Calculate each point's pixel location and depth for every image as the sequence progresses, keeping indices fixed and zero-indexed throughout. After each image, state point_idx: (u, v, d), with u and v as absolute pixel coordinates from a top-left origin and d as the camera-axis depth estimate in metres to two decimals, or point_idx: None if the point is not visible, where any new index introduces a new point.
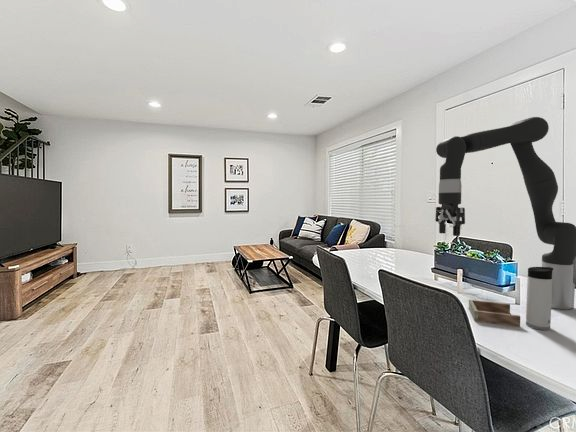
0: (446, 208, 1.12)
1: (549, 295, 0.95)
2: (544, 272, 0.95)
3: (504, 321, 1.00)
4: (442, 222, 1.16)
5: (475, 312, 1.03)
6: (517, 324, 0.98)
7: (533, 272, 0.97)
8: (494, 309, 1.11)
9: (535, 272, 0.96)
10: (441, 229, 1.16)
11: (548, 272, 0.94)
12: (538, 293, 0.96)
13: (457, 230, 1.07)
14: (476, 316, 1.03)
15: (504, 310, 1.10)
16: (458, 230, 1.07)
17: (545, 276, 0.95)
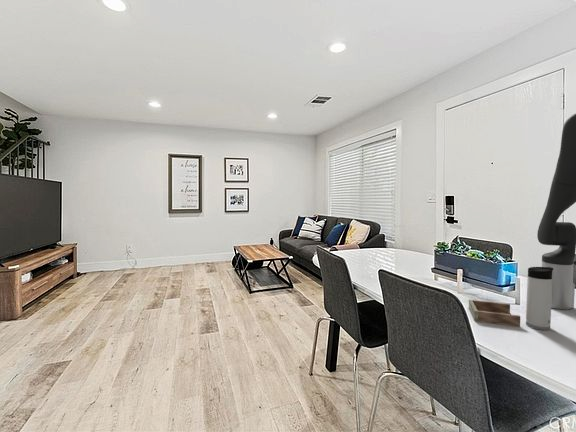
0: None
1: (549, 295, 0.95)
2: (544, 272, 0.95)
3: (504, 321, 1.00)
4: None
5: (475, 312, 1.03)
6: (517, 324, 0.98)
7: (533, 272, 0.97)
8: (494, 309, 1.11)
9: (535, 272, 0.96)
10: None
11: (548, 272, 0.94)
12: (538, 293, 0.96)
13: None
14: (476, 316, 1.03)
15: (504, 310, 1.10)
16: None
17: (545, 276, 0.95)
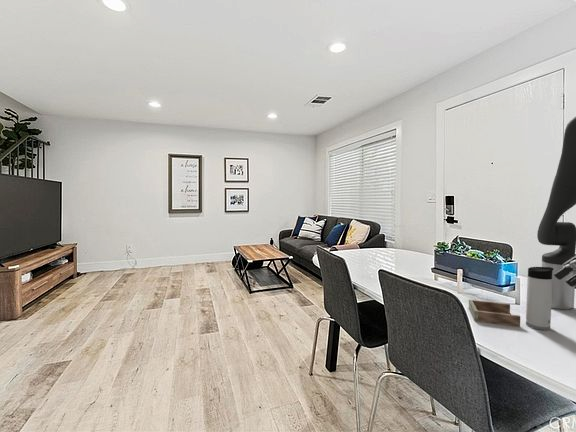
0: None
1: (549, 295, 0.95)
2: (544, 272, 0.95)
3: (504, 321, 1.00)
4: None
5: (475, 312, 1.03)
6: (517, 324, 0.98)
7: (533, 272, 0.97)
8: (494, 309, 1.11)
9: (535, 272, 0.96)
10: None
11: (548, 272, 0.94)
12: (538, 293, 0.96)
13: None
14: (476, 316, 1.03)
15: (504, 310, 1.10)
16: None
17: (545, 276, 0.95)
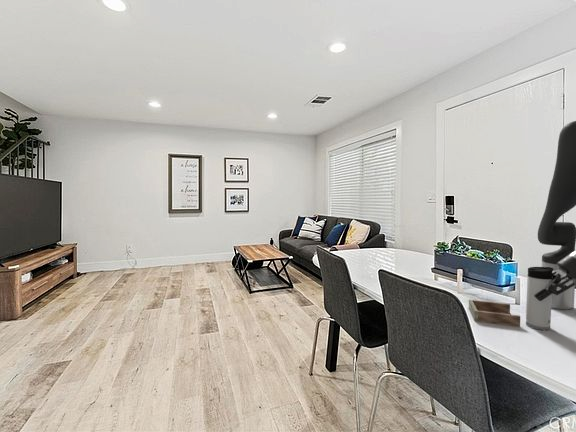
0: None
1: (549, 295, 0.95)
2: (544, 272, 0.95)
3: (504, 321, 1.00)
4: None
5: (475, 312, 1.03)
6: (517, 324, 0.98)
7: (533, 272, 0.97)
8: (494, 309, 1.11)
9: (535, 272, 0.96)
10: None
11: (548, 272, 0.94)
12: None
13: None
14: (476, 316, 1.03)
15: (504, 310, 1.10)
16: None
17: (544, 276, 0.95)
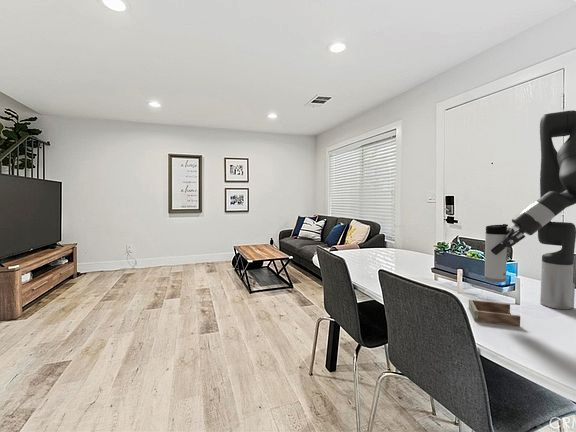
0: None
1: (504, 249, 1.02)
2: (499, 228, 1.02)
3: (504, 321, 1.00)
4: None
5: (475, 312, 1.03)
6: (517, 324, 0.98)
7: (489, 229, 1.04)
8: (494, 309, 1.11)
9: (491, 228, 1.03)
10: None
11: (503, 228, 1.01)
12: None
13: None
14: (476, 316, 1.03)
15: (504, 310, 1.10)
16: None
17: (499, 231, 1.02)
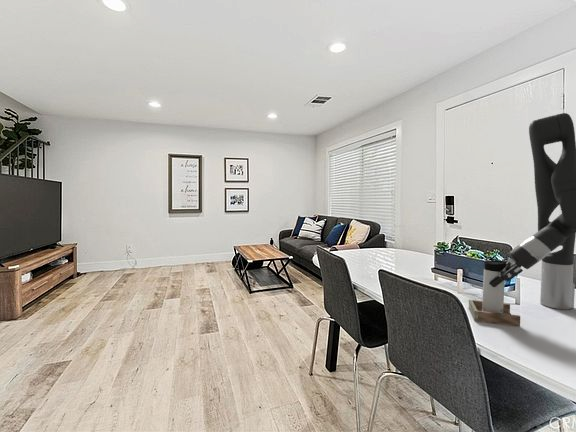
0: None
1: (501, 286, 1.03)
2: (497, 265, 1.03)
3: (504, 321, 1.00)
4: None
5: (475, 312, 1.03)
6: (517, 324, 0.98)
7: (488, 265, 1.05)
8: None
9: (489, 265, 1.04)
10: None
11: (501, 265, 1.03)
12: None
13: None
14: (476, 316, 1.03)
15: (504, 310, 1.10)
16: None
17: (498, 268, 1.03)
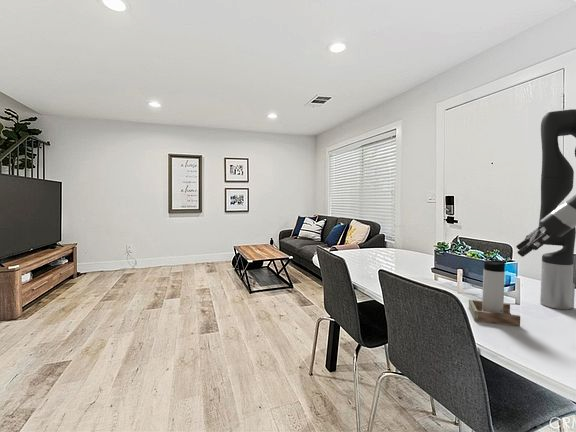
0: None
1: (501, 286, 1.03)
2: (497, 265, 1.03)
3: (504, 321, 1.00)
4: None
5: (475, 312, 1.03)
6: (517, 324, 0.98)
7: (487, 265, 1.05)
8: None
9: (489, 265, 1.04)
10: None
11: (500, 265, 1.03)
12: (491, 285, 1.04)
13: None
14: (476, 316, 1.03)
15: (504, 310, 1.10)
16: None
17: (497, 268, 1.03)
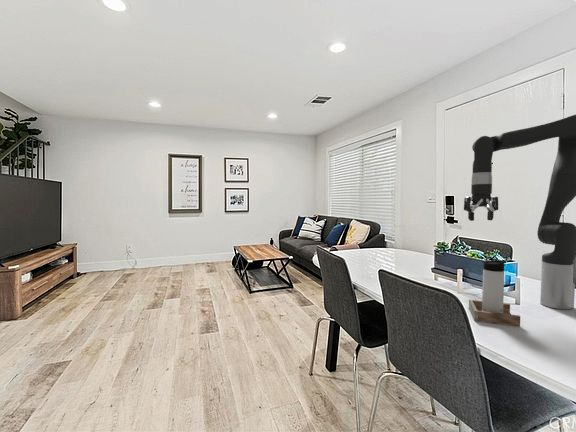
0: (482, 197, 1.28)
1: (501, 286, 1.03)
2: (496, 265, 1.03)
3: (504, 321, 1.00)
4: None
5: (475, 312, 1.03)
6: (517, 324, 0.98)
7: (487, 265, 1.05)
8: None
9: (488, 265, 1.04)
10: None
11: (500, 265, 1.03)
12: (491, 285, 1.04)
13: None
14: (476, 316, 1.03)
15: (504, 310, 1.10)
16: None
17: (497, 268, 1.03)
